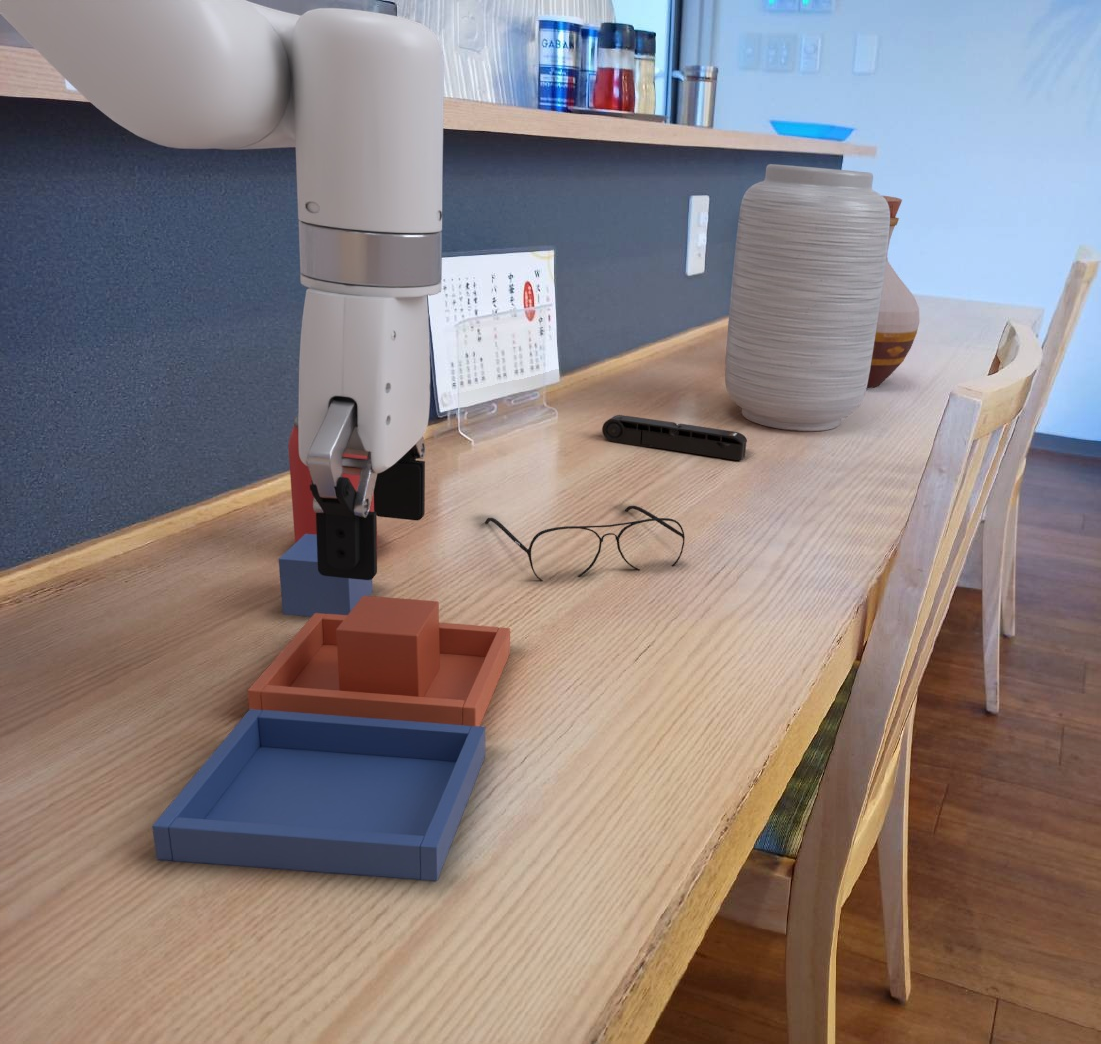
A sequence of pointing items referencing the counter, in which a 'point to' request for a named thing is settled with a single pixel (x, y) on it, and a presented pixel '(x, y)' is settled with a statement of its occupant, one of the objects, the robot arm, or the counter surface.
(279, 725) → the blue tray
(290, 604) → the blue block
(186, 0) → the robot arm
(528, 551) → the glasses
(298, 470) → the beer can
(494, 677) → the terracotta tray
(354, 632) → the terracotta block
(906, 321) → the jug
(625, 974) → the counter surface
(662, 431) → the tablet stand
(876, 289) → the vase
